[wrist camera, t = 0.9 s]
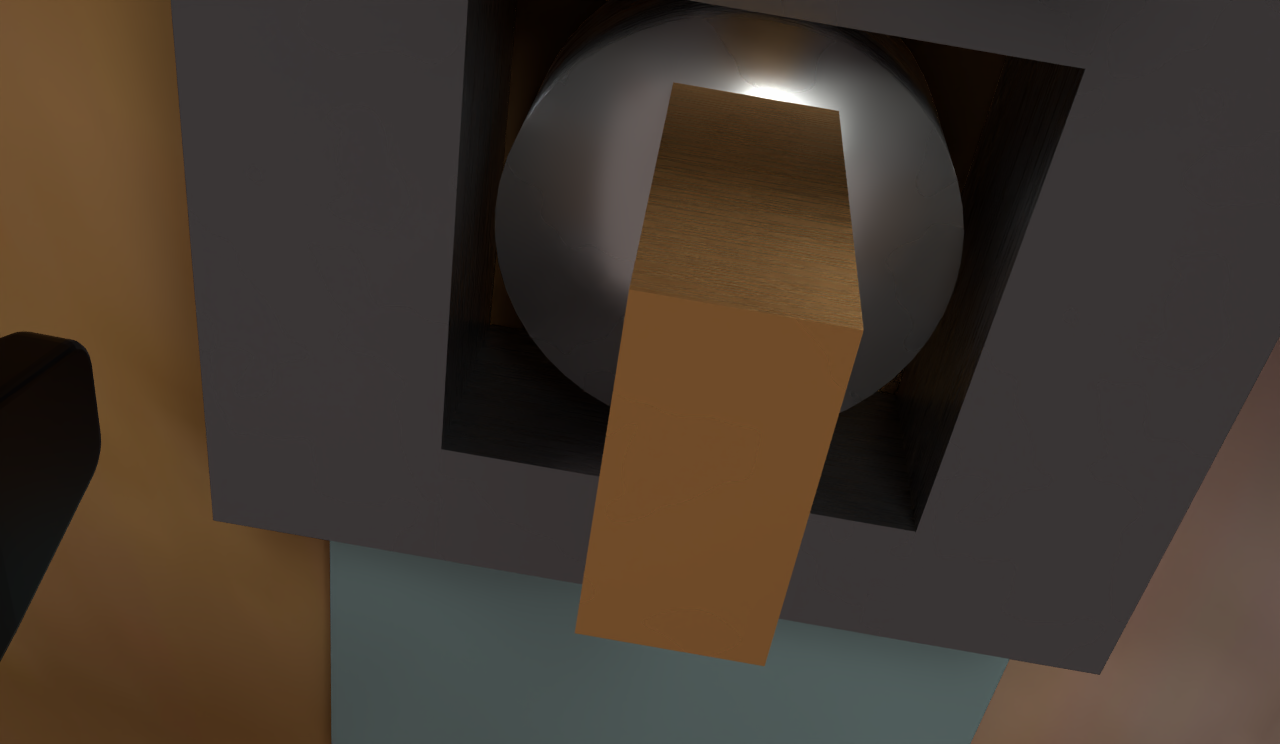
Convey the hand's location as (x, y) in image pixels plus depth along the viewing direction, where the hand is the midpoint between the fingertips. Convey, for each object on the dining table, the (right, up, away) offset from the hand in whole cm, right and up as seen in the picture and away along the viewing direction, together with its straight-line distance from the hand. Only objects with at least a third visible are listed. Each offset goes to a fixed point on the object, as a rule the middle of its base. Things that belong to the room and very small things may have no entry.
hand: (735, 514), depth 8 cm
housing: (+1, +4, +13) cm, 13 cm away
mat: (0, -6, +20) cm, 20 cm away
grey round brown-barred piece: (+1, +4, +13) cm, 14 cm away
